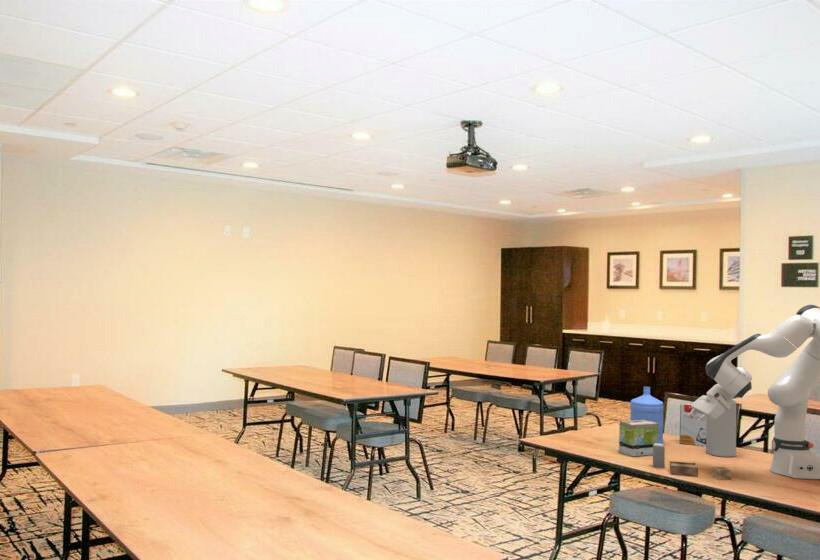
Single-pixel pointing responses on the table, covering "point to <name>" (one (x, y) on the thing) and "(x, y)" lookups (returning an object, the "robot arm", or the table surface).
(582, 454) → the table surface
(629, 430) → the tea box
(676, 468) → the stand
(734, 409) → the cylinder vase
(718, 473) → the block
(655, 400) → the water jug
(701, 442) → the hard drive box
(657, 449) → the block
